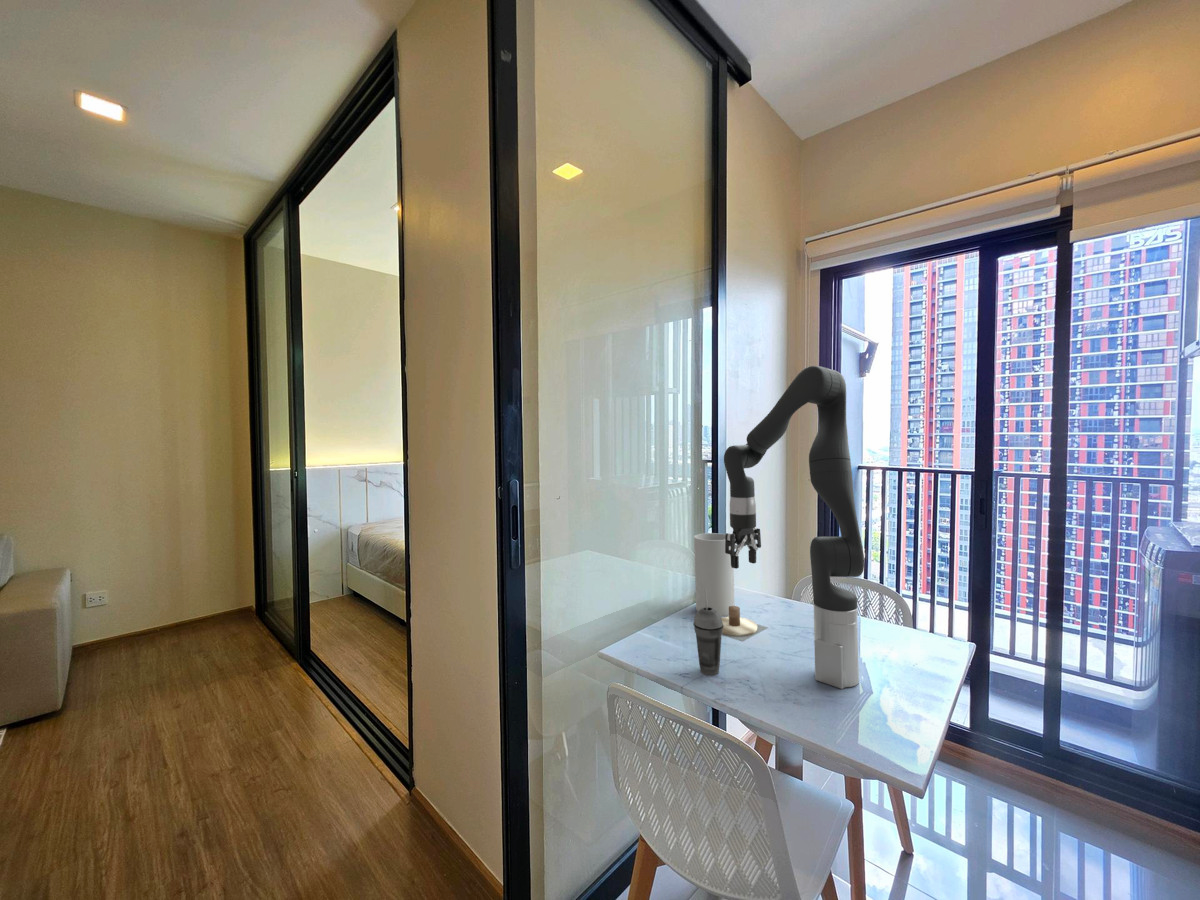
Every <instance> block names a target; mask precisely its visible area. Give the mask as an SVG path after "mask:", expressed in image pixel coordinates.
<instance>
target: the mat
mask: <svg viewBox="0 0 1200 900" xmlns="http://www.w3.org/2000/svg"><path fill="white" fill-rule="evenodd" d="M725 617H729V616H725ZM756 624H757V623H756ZM767 629H769V627H768V626H765V625H761V624H757V632H756V633H755V634H752V635H749V636H729V635H725V634H722V636H724V637H727V638H731V639H734V640H736V641H740V642H745V641H747V640H748V639H750V638H752V637H753V636H755V635H758V634H759V633H761V632H763V631H765V630H767Z"/></svg>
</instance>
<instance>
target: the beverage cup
mask: <svg viewBox="0 0 1200 900" xmlns="http://www.w3.org/2000/svg"><path fill="white" fill-rule="evenodd" d="M704 594H705V608H702V609H700V610H699V611H697V612H696V613H695V615H694V618H693V623H692V624H693V627H694V628H693V629H694V633H695V638H696V647H697V653H698V654H697V656H698V663H699V664H698V665H699V668H700V669H699V670H700V673H701V674H702V675H705V676H711V677H712V676H717V675H718V674H719V673H720V667H721V653H722V652H721V648H722V636H723V635H722V632H723V627H724V626H723V622H722V618H721V616H720V614H719V613H718V612H717V611H716V610H715V609H713V608H710V607H708V606H707V594H706V589H704Z"/></svg>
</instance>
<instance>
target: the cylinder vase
mask: <svg viewBox="0 0 1200 900" xmlns="http://www.w3.org/2000/svg"><path fill="white" fill-rule="evenodd" d="M725 535H726V533H716V532H715V533H714V532H707V533H705V532H704V533H699V534H695V535H693V537H694V538H693V539H694V541H693V542H694V573H695V575H694V576H695V577H694V579H695V608H696V611H697V612H698V611H699V610H700V609H702V608H705V594H704V589H706V594H707V606H708V607H710V608H713V609H715V610H716V611H717V612H718V613H719V614H720V616H721V617H726V616H729V606H735V604H736V602H735V599H736V598H735V571H734V570H735V568H732V567H731V556H730V554H726V553H725ZM730 549H731V547H730V546H729V550H730Z"/></svg>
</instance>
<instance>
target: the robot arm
mask: <svg viewBox="0 0 1200 900" xmlns="http://www.w3.org/2000/svg"><path fill="white" fill-rule="evenodd" d="M808 403H809V404H815V405H816V406H817V413H818V429H817V433H816V436H815V437H814V440H813V442H812V445H811V447H810V450H809V454H808V466H809V467H808V468H809V478H810V483H811V486H812V487H813V488H814V490H815V491H816V493H817V495H818V496H819V497H820V499H822V500H823V502H824V503H825V505H827V507H828V508H829V509H830V510H831V513H832V514H833V515H834V517H835V520H836V522H837V524H838V525H837V526H838V527H839V531H840V536H815V537H814V538H813V539H812V540H811V542H810V547H809V557H810V558H809V559H810V570H811V583H812V585H811V586H812V596H813V597H812V598H813V601H812V602H813V637H814V640H813V641H814V642H813V644H814V677H815V678H814V679H815V681H818V682H821V683H824V684H827V685H829V686H832V687H835V688H838V689H841V690H844V689H845V688H851V687H855V686H857V685H859V682H860V677H859V676H860V673H859V672H860V669H859V667H860V666H859V637H858V636H859V631H858V629H859V628H858V627H859V626H858V599H857V596H856V594H855V593H854V592H852V591H850V590H849V589H845V588H842V587H839V586H837V585H835V584H832V583H831V582H832V581H831V577H832V578H838V577H839V578H855V577H856V578H857V577H860V576H861V575H862V574H863V572H864V570H865V569H864V568H865V554H864V548H863V543H862V539H861V534H860V533H861V532H860V527H859V523H858V522H859V521H858V516H857V512H856V503H855V496H854V495H855V493H854V483H853V482H854V481H853V471H852V470H853V468H852V463H851V454H850V447H849V446H850V445H849V438H848V437H849V435H848V426H847V384H846V380H845V378H844V376H843V374H842V373H840V372H839V371H838V370H835V369H830V368H828V367H825V366H824V367H823V366H821V365H819V366H818V365H808V366H807V367H804V368H802V370H801V371H800V372H799V373H798V374H797V375H796V376H795V378H794V379H792V382H791V383H790V384H789V386H788V387H787V388H786V390H785V391H784V393H783V394H782V395H781V396H780V397H779V399H778V400H777V402H776V403H775V404H774V406H773V407H772V409H771V410H770V411H769V413H768V414H767V415H765V416H764V418H763V419H762V420H761V421H760V422H759V423H757V424H756V426H754V428H752V429H751V430H750V432H749V433H748V434H747V435H746V444H740V445H738V444H736V445H735V444H734V445H729V447H727V448H726V450H725V452H724V455H723V463H724V467H725V471H726V475H727V478H728V481H729V494H730V495H729V497H730V498H729V526H730V528H731V529H732V533H725V534H726V535H725V553H726V554H730V556H731V567H732V568H734V570H735V569H740V564H739V563H740V562H739V561H740V559H739V557H740V556H739V554H740V552H741V551H742V550H743V548H744V547H747V549H748V562H749V563H750V564H756V563H757V551H758V549H761V547H762V539H761V535H762V534H761V529H760V528H757V507H756V506H757V505H756V497H755V495H756V494H755V481H754V479H753V477H750V476H747V475H746V473H745V472H746V471H745V469H751V468H753V467H755V466H757V465H758V464H759V463H760V462H761V460H762V459H763V458H764V456H765V454H766V453H767V451H768V450H769V449H770V448H771V447H772V446H774V445H775V444H776V443H777V442H778V441H780V439H781V438H782V437H783V435H785V433H786V431H787V430H788V426H789V423H790V421H791V418H792V417H793V415H794V414H795V413H796V412H797V411H798V410H799V409H801V408H802V407H803V406H805V405H807V404H808ZM729 546H730V547H731V549H730V550H729Z"/></svg>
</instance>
